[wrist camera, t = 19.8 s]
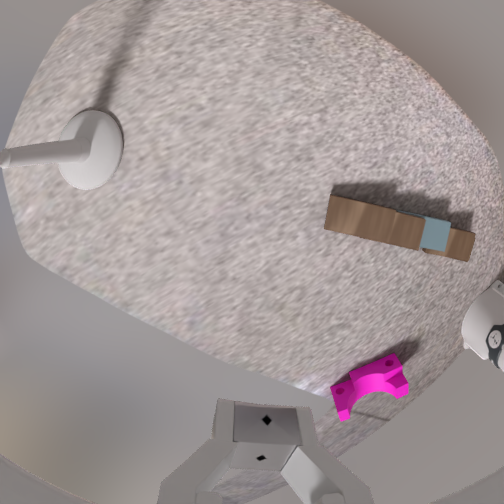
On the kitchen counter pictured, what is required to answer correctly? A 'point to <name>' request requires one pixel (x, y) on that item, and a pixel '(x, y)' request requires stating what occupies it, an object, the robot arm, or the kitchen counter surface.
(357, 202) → the domino
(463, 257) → the domino
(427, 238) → the domino
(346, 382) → the toy block
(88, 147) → the candlestick
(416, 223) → the domino
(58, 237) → the kitchen counter surface
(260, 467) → the robot arm
